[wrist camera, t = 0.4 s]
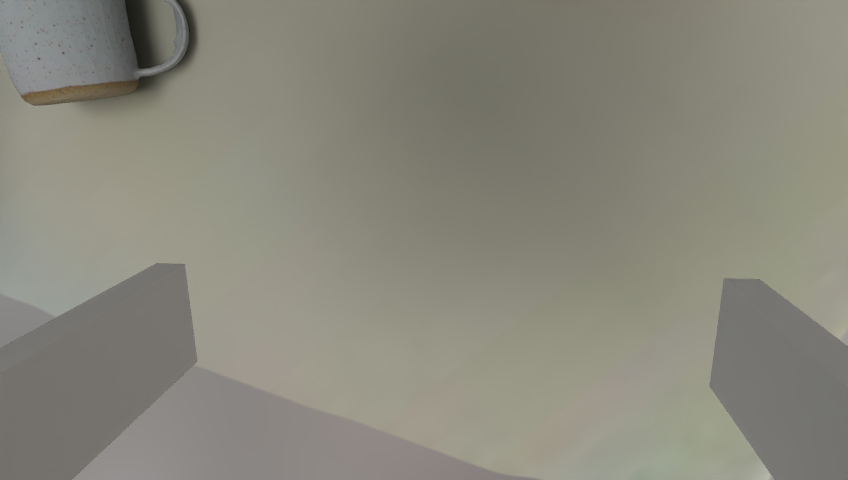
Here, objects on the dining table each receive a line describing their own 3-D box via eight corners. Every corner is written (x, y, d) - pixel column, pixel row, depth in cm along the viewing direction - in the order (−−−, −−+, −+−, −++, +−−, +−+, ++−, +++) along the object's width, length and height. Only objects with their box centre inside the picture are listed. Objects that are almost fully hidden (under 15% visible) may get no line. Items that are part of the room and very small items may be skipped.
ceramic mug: (73, 107, 42) (-16, 111, 34) (38, -13, 40) (-64, -36, 32) (209, 84, 40) (147, 84, 33) (180, -42, 38) (107, -72, 31)
